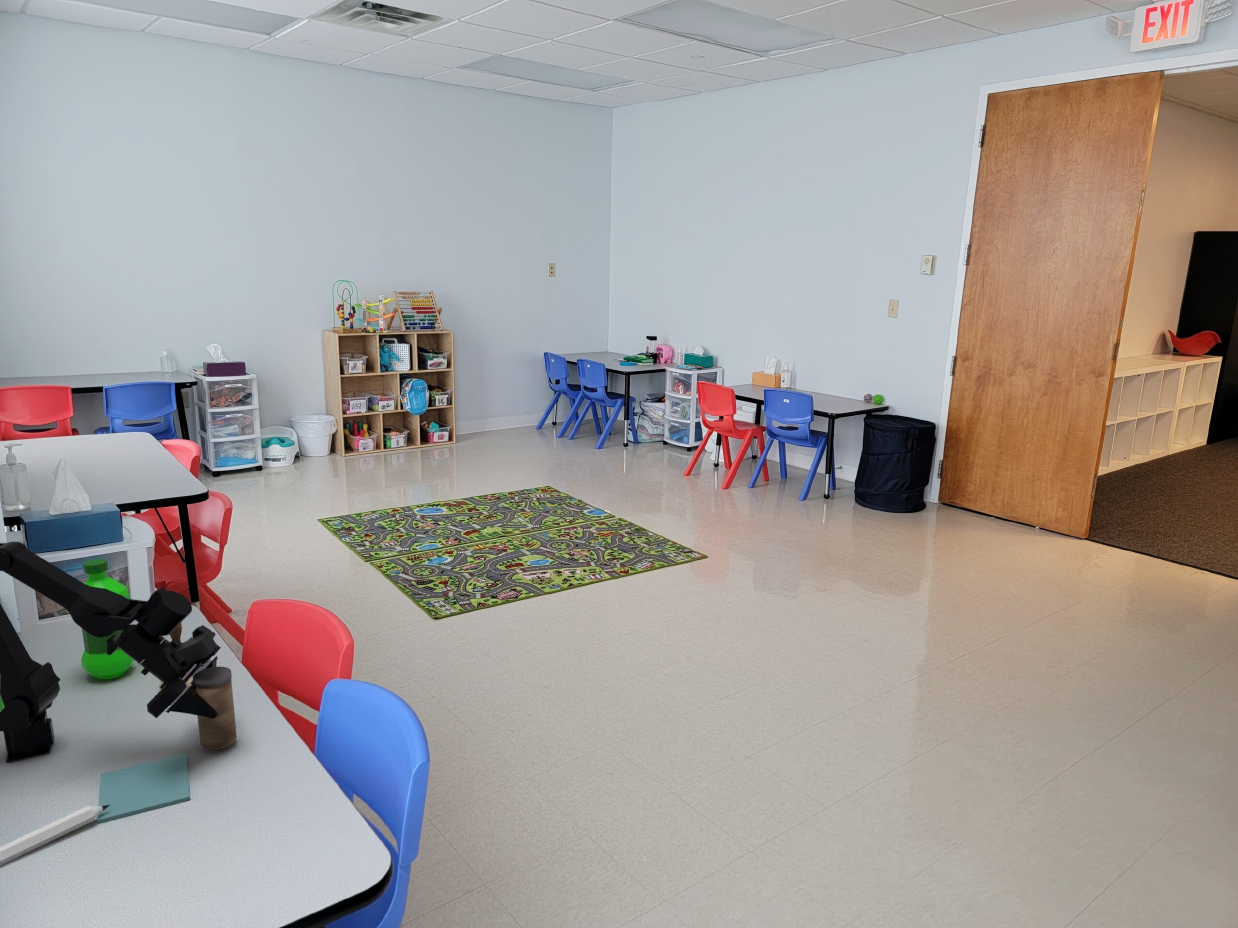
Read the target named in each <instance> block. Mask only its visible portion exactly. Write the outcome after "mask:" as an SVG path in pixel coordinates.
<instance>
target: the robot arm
mask: <svg viewBox="0 0 1238 928" xmlns="http://www.w3.org/2000/svg"><path fill="white" fill-rule="evenodd" d="M0 572H3V573H5V574H7V575H8V576H10V577H12V578H14V579H15V580H17V581H19V582H20V583H22V584H24V585H26V586H27V587H28V588H29V589H32V590H34V591H35V592H37V593H39V594H40V595H42V596H43V597H45V598H47V599H49V600H50V601H52V602H54V603H56V605H57V604H58V605H59V606H61V607H62V608H64V609H65V610H66V611H67V612H68V613H69V615H70V617H71V618H72V620H73V622H74V624H75V625H77V626H79V628H81V630H82V629H83V630H84V631H86V632H87V633H88V634H90V635H91V636H94V637H97V638H101V637H107V636H109V635H111V634H113V633H114V632H115V631H119V630H122V631H121V632H120V633H119V634H118V635H112V636H110V637H109V638H108V639H107V640H106V642H107V655H111V654H112V653H114V652H115V651H116V650H117V649H118V648H119V649H121V650H122V651H123V652H124V653H126V654H127V655H128V656H130V657H131V658H132V659H133V660H134V661H135V663H137V664H139V665H140V667H142V668H143V669H141V671H140V673H141V674H142V675H143V676H146V675H147V674H149V673H150V674H151V675H153V676H154V677H155V678H156V679H157V680H159V681H160V683H161V682H163V684H162V685H161V686H160V685H159V686H160V687H159V689H160V688H161V689H160V690H159V691H158V692H157V693H156V694H155V695H154V696H153V697H152V698H151V699H150V700H149V701H148V703H147V704H146V710H147V713H149V714H150V715H152V716H153V717H154V718H155V719H158V717H160V716H161V715H162V714H163V713H167V714H169V713H170V712H173V713H174V712H175V713H180V714H189V715H193V716H197V715H198V716H203V717H207V718H212V719H214V718H215V717H216V716H217V715H218V713H217V712H216V711H215V710H214V709H213V708H212V707H211V706H210V705H209V704H208V703H207V702H206V701H205V700H204V699H203V698H202V697H201V696H200V695H199V694H198V693H197V691H196V685H195V682H194V683H193V681H192V682H191V683H190V684H192V685H191V686H188V685H187V684H186V682H187V681H188V680H189V679H190V677H193V676H194V675H195V674H196V673H197V672H199V671H201V670H203V669H206V668H210V667H217V660H218V655H216V654H217V653H218V652H219V651H220V650H221V648H222V647H220V646H219V644H217V643H216V641H215V639H214V638H215V637H216V632H214V631H212V629H210V628H208V627H207V626H205V625H204V624H202V625H200V626H198V627H196V628H195V629H193V631H192V632H191V633H192V634H191V635H192V637H189V638H188V640H186V641H184V642H182V641H181V642H180V641H179V640H178V639H173V640H172V639H171V641H169V640H168V639H167V638H166V636H170V635H169V634H170V633H171V632H172V631H173V630H174V629H175V628H176V627H177V626H178V625H179V624H180V623H181V624H182V622H183V621H184V620H185V619H186V618H187V617H188V616H189V615H190V614H191V613H192V611H193V605H192V603H191V602H190V600H189V599H188V598H187V596H185V595H184V594H183V593H179V592H177V591H174V590H166V589H165V588H163V587H162V586H159V587H158V588H157V589H156V590H155V591H154V592H153V593H152V594H150V597H149V598H148V600H141V599H132V598H130V599H127V598H126V597H124V596H122V595H120V594H117V593H115V592H113V591H110V590H108V589H104V588H98V587H92V586H89V585H86V584H84V582H83V581H80V580H79V579H77V578H76V577H74V576H73V575H71V574H69V573H68V572H66V571H64V570H63V569H61V568H59V567H57V566H56V565H54V564H52V563H51V562H50V561H48V560H46V559H44V558H42V557H41V556H39V555H38V554H36V553H34V552H33V551H31V550H29V549H28V548H27V546H26V545H25V544H24V543H22V542H20V541H8V542H0ZM135 621H136V623H135V624H134V623H133V622H135ZM132 623H133V624H132ZM215 655H216V656H215ZM214 656H215V657H214ZM212 657H214V658H212ZM60 682H61V678H60V677H59V676H58V675H57V674H56V673H55V671H54V667H53V665H52V664H51V663H50V662H49V661H48V662H46V663H43V664H41V663H40V662H37V661H35V660H33V659H32V658H31V656H30V654H29V652H28V651H27V649H26V647H25V645H24V643H23V642H22V639H21V638H20V636H19V634H18V633H17V631H16V629H15V627H14V625H13V624H12V622H11V620H10V618H9V616H8V615H7V612H6V610H5V609H4V608H3V606H2V604H1V603H0V698H1V702H2V704H3V708H2V710H1V711H0V732H3V738H4V744H5V749H6V756H5V763H13V762H16V761H21V760H25V759H31V758H34V757H35V758H36V757H38V756H44V755H47V754H50V753H51V748H52V746H53V745H54V743H55V732H54V726H53V719H52V718H51V717H48V714H47V710H48V709H50V708H51V707H52V706H53V702H54V701H55V699H57V697H58V696H59V692H60V691H61V686H60Z"/></svg>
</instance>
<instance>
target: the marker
mask: <svg viewBox="0 0 1238 928" xmlns="http://www.w3.org/2000/svg"><path fill="white" fill-rule="evenodd" d="M110 805H111V804H110ZM110 805H105V806H99V805H97V806H96V805H95V806H91V805H87V806H85V807H83V808H80V809H78V810H77V811H74V812H72V813H70V814H67V815H66V816H64V817H61V818H59V819H57V820H55V821H53V822H51V823H48V824H46V825H44V826H41V827H39V828H38V829H35V830H34V831H31V832H29V833H27V834H25V835H23V836H20V837H19V838H17V839H14V840H12V841H10V842H8V843H6V844H3V845H1V846H0V866H1V865H4V864H6V863H8V862H11V861H13V860H15V859H16V858H17V859H18V858H19V857H21V856H22V855H25V854H27V853H29V852H31V851H33V850H35V849H37V848H39V847H42V846H44V845H46V844H48V843H49V842H50V843H51V842H52V841H54V840H56V839H58V838H60V837H63V836H65V835H66V834H68V833H71V832H73V831H76V830H78V829H79V828H81V827H82V826H83V827H84V826H85V825H88V824H90V823H91V822H93V821H95V820H96V818H98V815H99V814H100V813H101V812H102V811H104V810H105V809H106V808H108V807H109V806H110Z"/></svg>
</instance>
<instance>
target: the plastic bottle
mask: <svg viewBox="0 0 1238 928" xmlns="http://www.w3.org/2000/svg"><path fill="white" fill-rule="evenodd" d="M82 567H83V573H84V574H85V575H87V580H85V581H84V582H83V583H84V584H86V585H89V586H92V587H98V588H104V589H108V590H110V591H113V592H115V593H117V594H120V595H122V596H124V597H126V598H127V599H131V595H130V591H129V589H128V588H127V586H126V585H124V584H122V583H121V582H119V581H117V580H115V579H114V578H111V576H107V571H108V570H109V564H108V560H107V559H106V558H92V559H90V560H86V561H84V562H83V563H82ZM121 631H122V630H119V631H115V632H114V633H113V634H111V635H109V636H107V637H101V638H97V637H94V636H91V635H90V634H88V633H87V632H86V631H84V630H83V629H82V628H81V632H82V640H83V645H84V651H83V653H82V655H81V659H80V662H81V667H82V668H83V669H84V671H86V672H87V673H88V674H89V675H90V676H92V677H95V678H97V679H98V680H103V679H108V680H111V679H112V678H113V679H116V678H119V677H120V676H123V675H124V674H125V673H126V671H127V670H128V669H129V668H130V667H131V665H132V664H133V662H134V661H135V660H133V659H132V658H131V657H130V656H128V655H127V654H126V653H124V652H123V651H122V650H121V649H119V648H118V649H117V650H116V651H115V652H114V653H112V654H111V655H107V642H106V640H107V639H108V638H109V637H110V636H112V635H118V634H119V633H120V632H121Z"/></svg>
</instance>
